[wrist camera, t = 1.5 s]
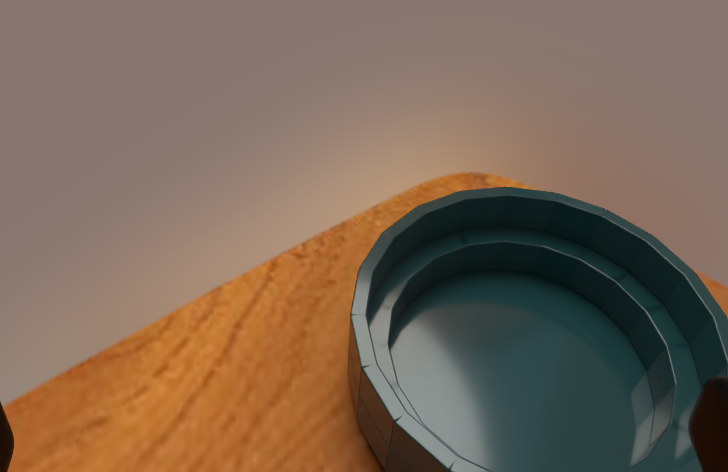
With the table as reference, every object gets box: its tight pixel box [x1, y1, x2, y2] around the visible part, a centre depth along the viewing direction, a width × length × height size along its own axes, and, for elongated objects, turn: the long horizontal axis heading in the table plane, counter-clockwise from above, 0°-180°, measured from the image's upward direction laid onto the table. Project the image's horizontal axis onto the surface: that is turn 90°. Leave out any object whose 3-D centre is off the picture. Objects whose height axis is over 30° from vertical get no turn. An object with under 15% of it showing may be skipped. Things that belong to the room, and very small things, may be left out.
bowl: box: [347, 187, 728, 472], centre depth 24 cm, size 14×14×4 cm
